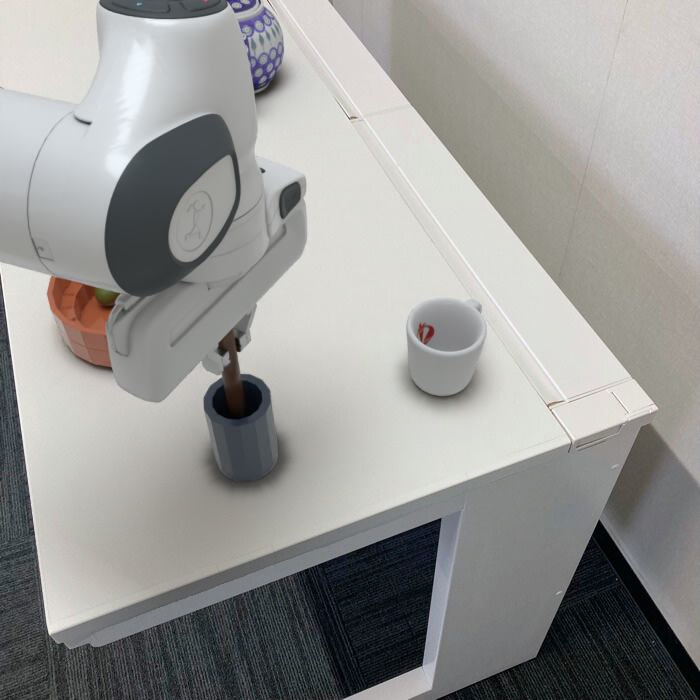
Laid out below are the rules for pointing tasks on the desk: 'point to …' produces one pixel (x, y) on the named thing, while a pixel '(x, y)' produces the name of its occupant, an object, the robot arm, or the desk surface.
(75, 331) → the bowl
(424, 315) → the cup
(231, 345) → the stick
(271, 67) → the teapot
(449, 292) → the desk surface
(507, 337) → the desk surface
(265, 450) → the crock
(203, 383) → the desk surface
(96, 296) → the bead
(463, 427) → the desk surface
